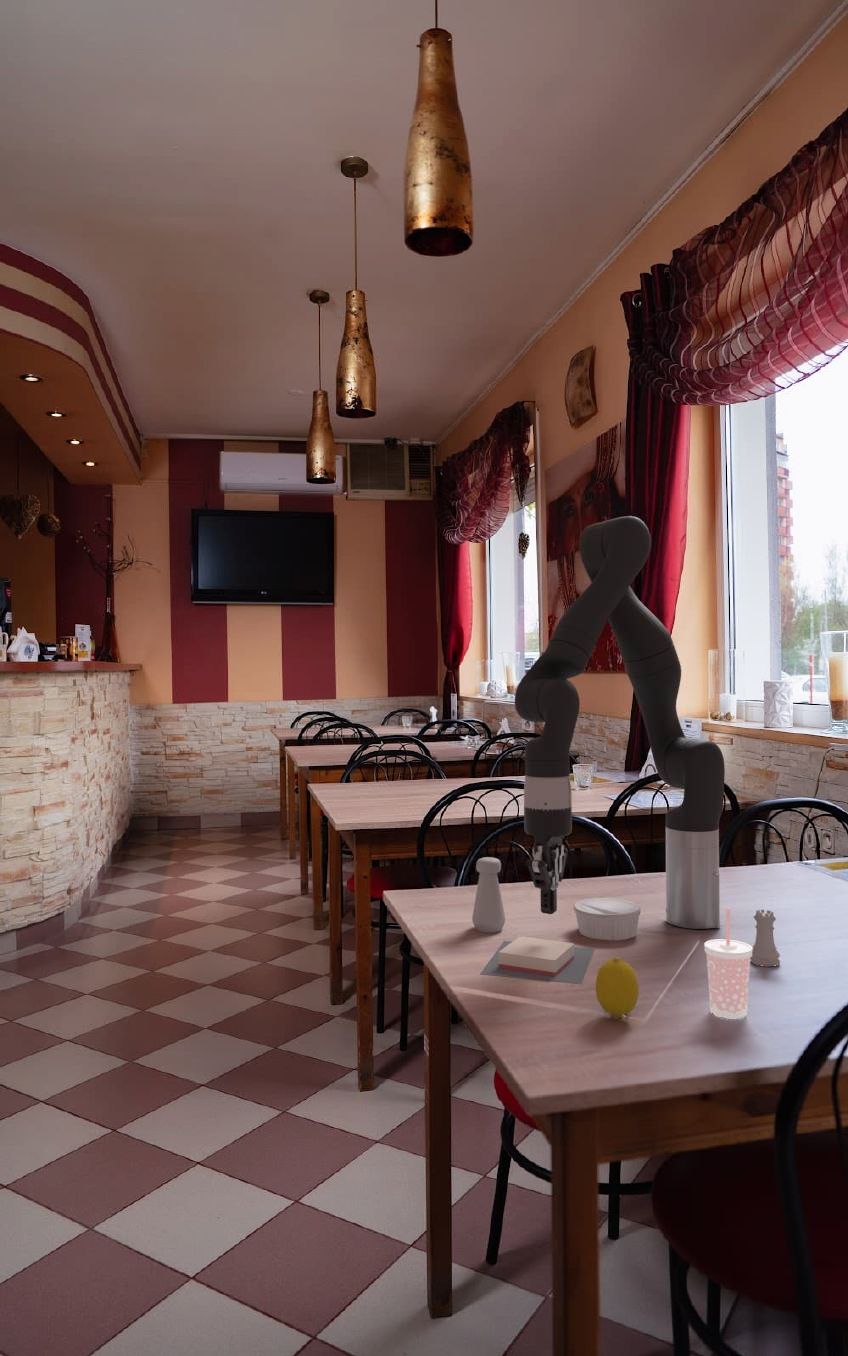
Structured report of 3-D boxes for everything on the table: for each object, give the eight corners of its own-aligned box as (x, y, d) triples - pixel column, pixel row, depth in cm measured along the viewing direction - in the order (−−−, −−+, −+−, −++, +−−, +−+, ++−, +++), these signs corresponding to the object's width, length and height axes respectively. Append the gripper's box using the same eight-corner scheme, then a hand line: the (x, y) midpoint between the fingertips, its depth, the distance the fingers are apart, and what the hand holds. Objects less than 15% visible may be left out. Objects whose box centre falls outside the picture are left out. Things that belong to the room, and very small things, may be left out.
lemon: (590, 1011, 119) (590, 951, 119) (631, 1009, 120) (630, 950, 120) (602, 1027, 114) (602, 965, 114) (644, 1025, 114) (644, 963, 114)
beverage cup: (706, 1001, 122) (705, 900, 122) (753, 1008, 120) (753, 904, 120) (702, 1018, 117) (701, 911, 117) (751, 1024, 114) (751, 916, 114)
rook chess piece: (766, 969, 136) (766, 917, 136) (743, 961, 140) (743, 910, 140) (786, 964, 138) (786, 913, 138) (763, 956, 142) (763, 906, 142)
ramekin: (568, 941, 151) (567, 910, 151) (581, 924, 161) (581, 895, 161) (635, 948, 146) (635, 916, 146) (644, 930, 157) (644, 900, 157)
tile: (520, 936, 143) (498, 951, 135) (574, 943, 139) (555, 960, 131) (520, 950, 143) (498, 967, 135) (574, 958, 139) (555, 976, 131)
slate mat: (594, 952, 144) (594, 948, 144) (581, 987, 128) (581, 983, 128) (504, 944, 149) (504, 940, 149) (479, 977, 133) (479, 973, 133)
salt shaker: (503, 938, 152) (502, 862, 152) (470, 936, 154) (469, 861, 153) (507, 928, 158) (506, 855, 158) (475, 926, 159) (474, 854, 159)
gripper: (556, 811, 134) (558, 926, 134) (582, 799, 146) (584, 904, 146) (510, 808, 137) (511, 920, 137) (539, 796, 149) (540, 900, 149)
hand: (548, 912), depth 142 cm, fingers closed
